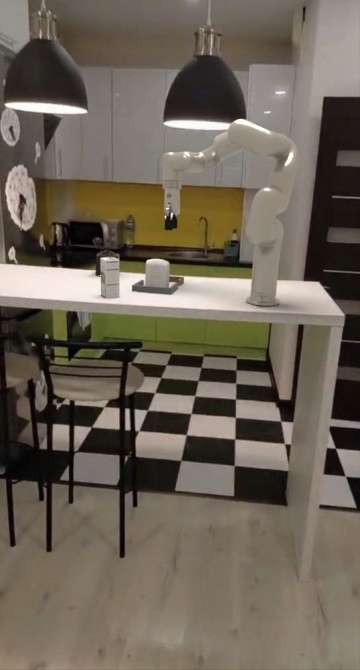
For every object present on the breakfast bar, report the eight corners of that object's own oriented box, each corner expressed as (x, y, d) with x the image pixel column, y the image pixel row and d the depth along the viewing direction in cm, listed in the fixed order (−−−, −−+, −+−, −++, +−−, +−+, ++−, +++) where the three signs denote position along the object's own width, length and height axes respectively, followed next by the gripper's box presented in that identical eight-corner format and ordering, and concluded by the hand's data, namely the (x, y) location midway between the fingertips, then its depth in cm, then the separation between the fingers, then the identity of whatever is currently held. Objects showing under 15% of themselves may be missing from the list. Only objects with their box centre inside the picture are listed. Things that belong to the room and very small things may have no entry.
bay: (170, 294, 201) (171, 288, 200) (132, 291, 204) (132, 285, 203) (178, 288, 213) (178, 282, 213) (141, 285, 216) (141, 279, 216)
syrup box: (120, 297, 192) (120, 259, 188) (105, 298, 190) (105, 259, 185) (114, 294, 197) (114, 256, 193) (100, 295, 194) (99, 257, 190)
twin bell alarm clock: (96, 272, 244) (96, 234, 239) (119, 273, 245) (120, 235, 240) (92, 278, 229) (92, 237, 224) (117, 278, 230) (117, 238, 225)
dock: (179, 286, 219) (179, 280, 218) (146, 283, 221) (146, 277, 221) (183, 282, 227) (184, 276, 226) (151, 280, 230) (151, 274, 229)
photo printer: (170, 288, 212) (171, 259, 209) (167, 290, 208) (168, 260, 205) (146, 286, 215) (147, 257, 211) (143, 288, 211) (144, 258, 207)
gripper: (177, 185, 193) (176, 231, 198) (185, 186, 209) (183, 228, 214) (158, 184, 194) (157, 230, 199) (167, 185, 210) (166, 227, 215)
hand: (171, 229), depth 206 cm, fingers open, 9 cm apart
